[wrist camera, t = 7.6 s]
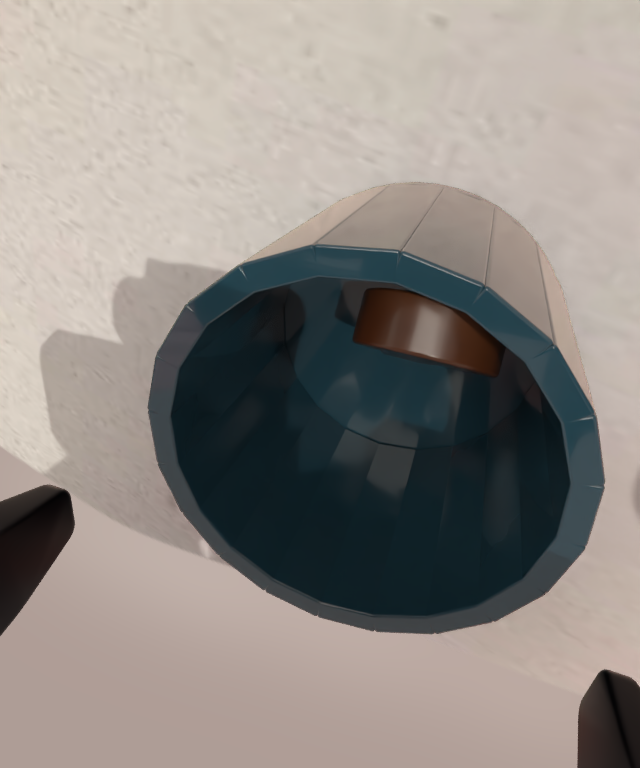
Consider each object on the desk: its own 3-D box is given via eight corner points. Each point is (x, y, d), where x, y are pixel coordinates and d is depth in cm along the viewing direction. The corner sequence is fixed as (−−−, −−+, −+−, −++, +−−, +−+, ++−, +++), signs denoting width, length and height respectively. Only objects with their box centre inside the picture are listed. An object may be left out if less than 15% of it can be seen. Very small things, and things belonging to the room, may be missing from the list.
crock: (423, 495, 21) (383, 683, 14) (229, 339, 20) (91, 460, 14) (638, 324, 16) (733, 493, 9) (388, 109, 15) (293, 121, 9)
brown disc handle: (460, 333, 17) (450, 370, 17) (362, 310, 17) (352, 346, 17) (534, 319, 10) (517, 381, 10) (366, 278, 10) (350, 340, 10)
